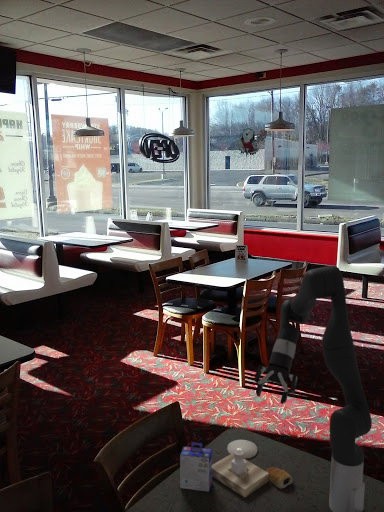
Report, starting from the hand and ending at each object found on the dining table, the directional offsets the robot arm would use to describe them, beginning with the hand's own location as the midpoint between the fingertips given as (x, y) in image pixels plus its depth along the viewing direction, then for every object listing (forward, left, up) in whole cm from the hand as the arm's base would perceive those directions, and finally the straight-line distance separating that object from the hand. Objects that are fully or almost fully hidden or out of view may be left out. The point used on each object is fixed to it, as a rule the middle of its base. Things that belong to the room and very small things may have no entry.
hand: (269, 399), depth 168 cm
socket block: (+3, +12, -25) cm, 28 cm away
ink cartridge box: (+10, +25, -25) cm, 37 cm away
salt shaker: (+3, +12, -25) cm, 28 cm away
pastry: (-7, +4, -26) cm, 27 cm away
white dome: (+13, -1, -25) cm, 28 cm away
